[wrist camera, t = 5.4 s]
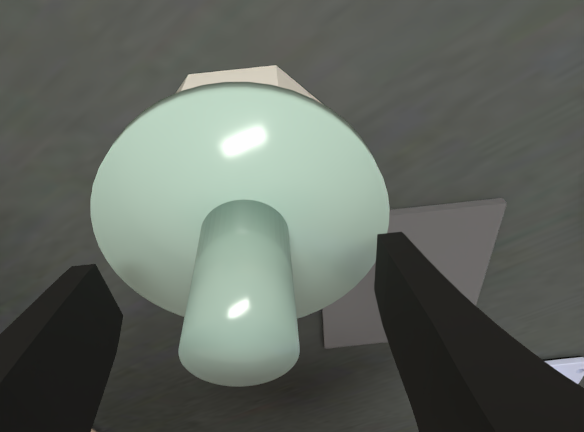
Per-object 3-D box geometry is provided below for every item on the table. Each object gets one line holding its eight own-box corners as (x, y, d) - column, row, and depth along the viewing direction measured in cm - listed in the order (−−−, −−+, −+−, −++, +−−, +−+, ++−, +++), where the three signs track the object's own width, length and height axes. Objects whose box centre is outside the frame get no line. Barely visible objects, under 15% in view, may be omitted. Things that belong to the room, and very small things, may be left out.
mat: (464, 327, 23) (467, 333, 22) (323, 342, 23) (324, 348, 22) (502, 198, 17) (507, 203, 17) (316, 217, 17) (317, 223, 17)
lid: (387, 287, 15) (431, 417, 11) (164, 325, 15) (132, 461, 11) (376, 49, 10) (453, 139, 6) (38, 118, 10) (-97, 243, 6)
